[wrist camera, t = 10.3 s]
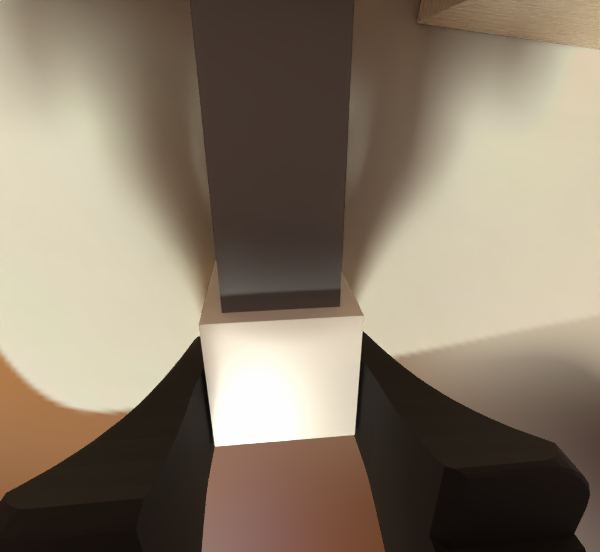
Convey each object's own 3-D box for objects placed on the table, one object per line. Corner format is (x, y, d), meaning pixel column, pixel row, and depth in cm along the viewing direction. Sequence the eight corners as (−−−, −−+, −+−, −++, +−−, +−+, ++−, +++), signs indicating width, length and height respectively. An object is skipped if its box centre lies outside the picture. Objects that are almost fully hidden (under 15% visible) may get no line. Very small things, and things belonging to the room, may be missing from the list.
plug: (344, -15, 10) (393, -77, 6) (331, 352, 15) (354, 434, 11) (186, -18, 10) (144, -87, 6) (225, 359, 14) (214, 446, 11)
